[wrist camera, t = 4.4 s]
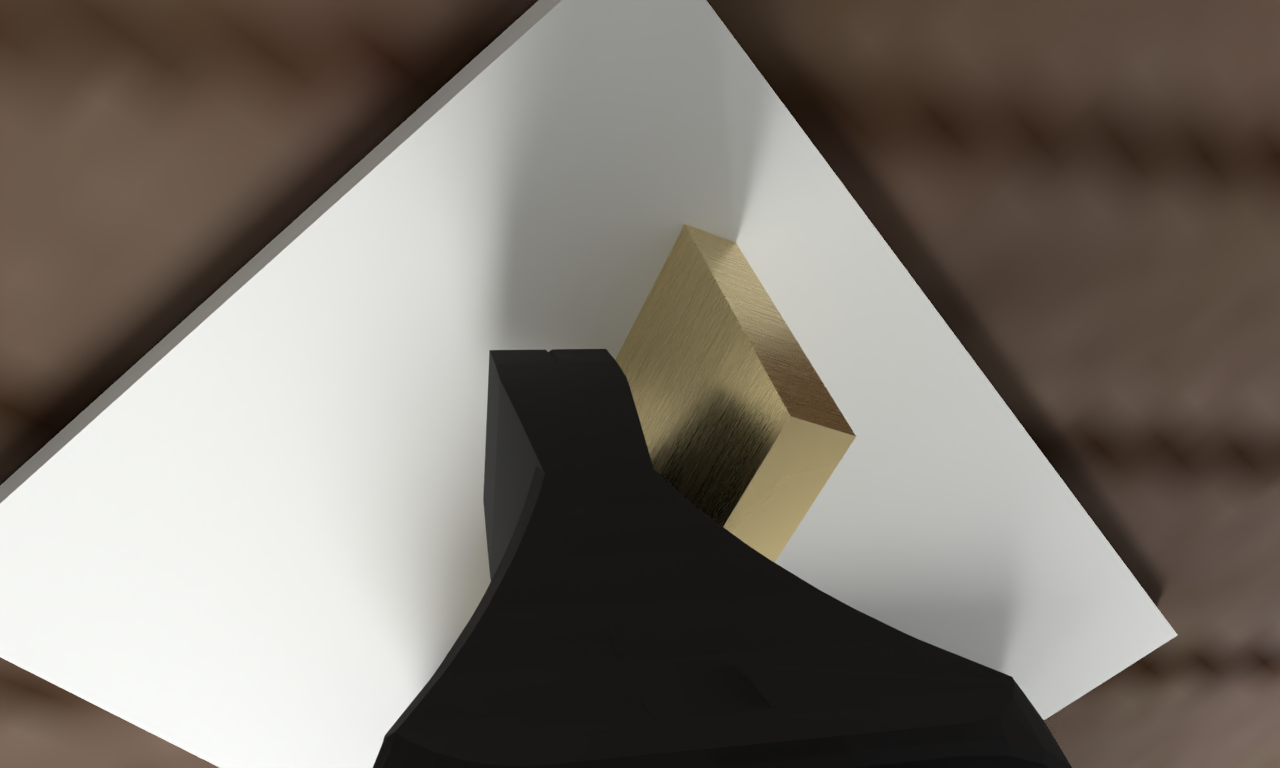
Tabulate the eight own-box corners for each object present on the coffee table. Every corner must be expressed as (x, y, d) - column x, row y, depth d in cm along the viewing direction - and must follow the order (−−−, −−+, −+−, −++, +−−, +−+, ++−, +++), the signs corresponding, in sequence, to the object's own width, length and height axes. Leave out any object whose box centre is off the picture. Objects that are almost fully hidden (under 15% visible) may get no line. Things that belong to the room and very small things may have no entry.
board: (1157, 610, 19) (1177, 635, 19) (632, 948, 22) (638, 978, 21) (637, -89, 11) (649, -77, 11) (-93, 568, 14) (-110, 601, 13)
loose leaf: (514, 655, 16) (549, 910, 13) (469, 647, 16) (493, 905, 12) (736, 243, 13) (855, 435, 10) (684, 223, 13) (789, 416, 9)
